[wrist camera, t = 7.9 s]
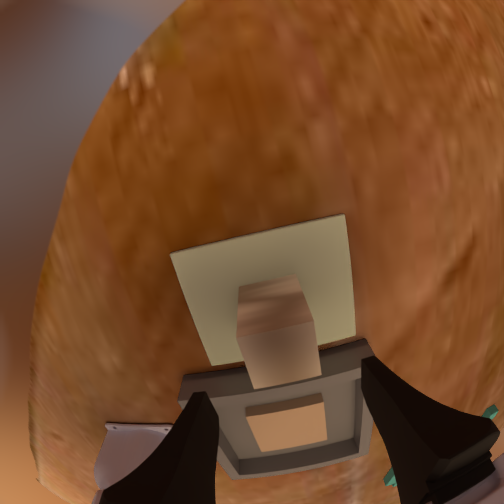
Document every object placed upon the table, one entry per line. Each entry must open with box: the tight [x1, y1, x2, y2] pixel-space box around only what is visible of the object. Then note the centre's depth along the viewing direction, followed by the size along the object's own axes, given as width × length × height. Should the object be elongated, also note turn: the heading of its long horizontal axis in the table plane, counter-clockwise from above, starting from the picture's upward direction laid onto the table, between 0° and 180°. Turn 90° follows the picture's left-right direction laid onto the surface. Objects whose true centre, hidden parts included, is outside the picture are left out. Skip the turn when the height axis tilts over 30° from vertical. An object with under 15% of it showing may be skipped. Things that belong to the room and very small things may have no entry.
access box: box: [177, 339, 376, 480], centre depth 23 cm, size 16×16×3 cm
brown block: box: [236, 274, 322, 389], centre depth 17 cm, size 4×4×6 cm
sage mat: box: [170, 214, 356, 366], centre depth 20 cm, size 12×10×1 cm
